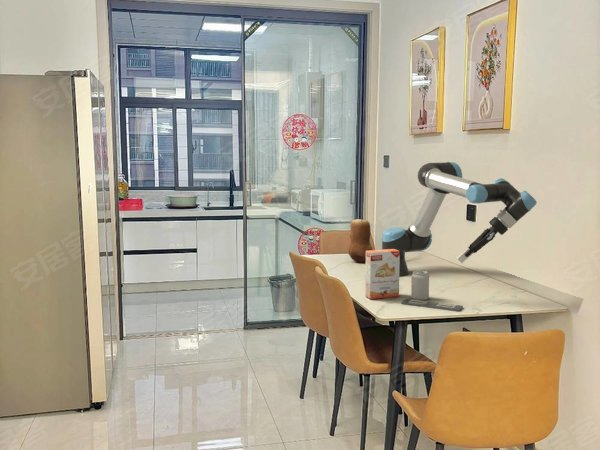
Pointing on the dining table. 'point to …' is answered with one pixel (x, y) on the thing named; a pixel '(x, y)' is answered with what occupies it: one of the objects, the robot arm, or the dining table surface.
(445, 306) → the panel
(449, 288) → the dining table surface
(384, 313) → the dining table surface
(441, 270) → the dining table surface
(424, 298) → the can
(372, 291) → the cracker box
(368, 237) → the butternut squash
